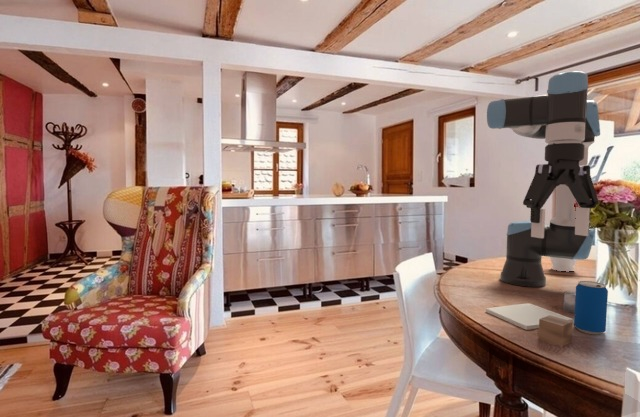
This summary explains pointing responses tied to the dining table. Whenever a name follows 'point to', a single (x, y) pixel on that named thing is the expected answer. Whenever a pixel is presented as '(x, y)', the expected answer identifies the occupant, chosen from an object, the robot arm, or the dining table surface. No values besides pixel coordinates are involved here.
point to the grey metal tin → (569, 301)
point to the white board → (523, 315)
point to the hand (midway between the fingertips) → (559, 236)
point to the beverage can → (591, 307)
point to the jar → (563, 264)
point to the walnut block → (555, 330)
